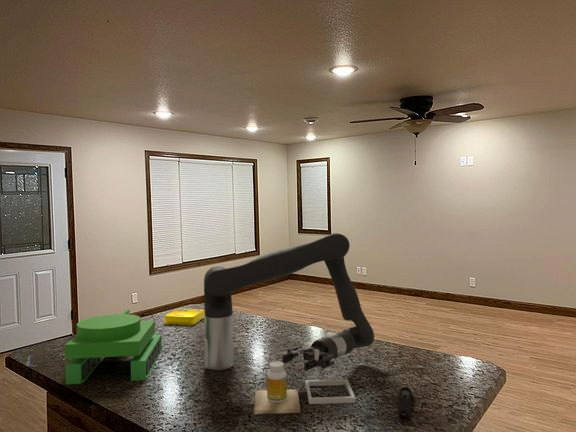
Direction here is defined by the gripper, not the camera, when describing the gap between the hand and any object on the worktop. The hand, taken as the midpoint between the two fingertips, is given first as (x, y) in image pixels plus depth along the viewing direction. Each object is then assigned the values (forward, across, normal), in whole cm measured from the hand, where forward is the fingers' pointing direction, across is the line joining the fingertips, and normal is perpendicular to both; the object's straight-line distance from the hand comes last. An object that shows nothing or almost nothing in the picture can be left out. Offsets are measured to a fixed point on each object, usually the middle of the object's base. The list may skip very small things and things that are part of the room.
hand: (293, 363), depth 123 cm
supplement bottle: (+7, 0, +8) cm, 11 cm away
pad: (+7, 0, +9) cm, 11 cm away
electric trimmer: (-14, +27, +10) cm, 32 cm away
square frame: (-7, +7, +9) cm, 13 cm away
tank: (+20, -63, +10) cm, 67 cm away
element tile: (-26, -93, +10) cm, 97 cm away
